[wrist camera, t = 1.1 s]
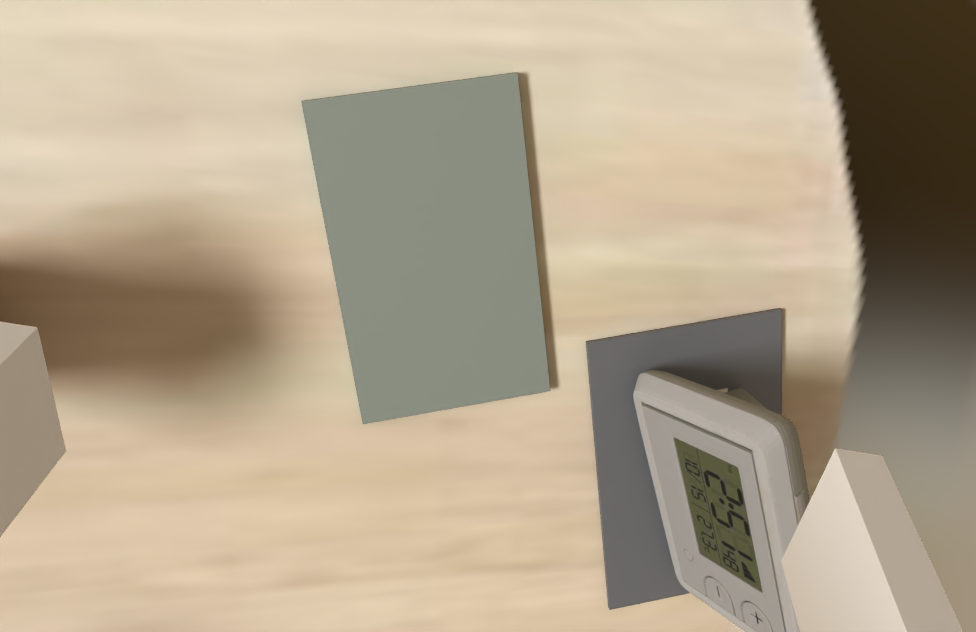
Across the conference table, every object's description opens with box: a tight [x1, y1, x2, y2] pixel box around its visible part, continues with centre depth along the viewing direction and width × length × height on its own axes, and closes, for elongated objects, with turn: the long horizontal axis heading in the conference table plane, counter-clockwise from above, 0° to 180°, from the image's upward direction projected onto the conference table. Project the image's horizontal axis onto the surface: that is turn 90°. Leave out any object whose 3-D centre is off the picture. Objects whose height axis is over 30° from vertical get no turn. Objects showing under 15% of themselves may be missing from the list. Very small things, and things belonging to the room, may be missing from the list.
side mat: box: [302, 72, 550, 424], centre depth 44 cm, size 18×11×1 cm, turn 7°
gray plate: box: [586, 308, 782, 610], centre depth 51 cm, size 19×12×1 cm, turn 7°
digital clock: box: [633, 370, 810, 632], centre depth 46 cm, size 16×9×11 cm, turn 4°
